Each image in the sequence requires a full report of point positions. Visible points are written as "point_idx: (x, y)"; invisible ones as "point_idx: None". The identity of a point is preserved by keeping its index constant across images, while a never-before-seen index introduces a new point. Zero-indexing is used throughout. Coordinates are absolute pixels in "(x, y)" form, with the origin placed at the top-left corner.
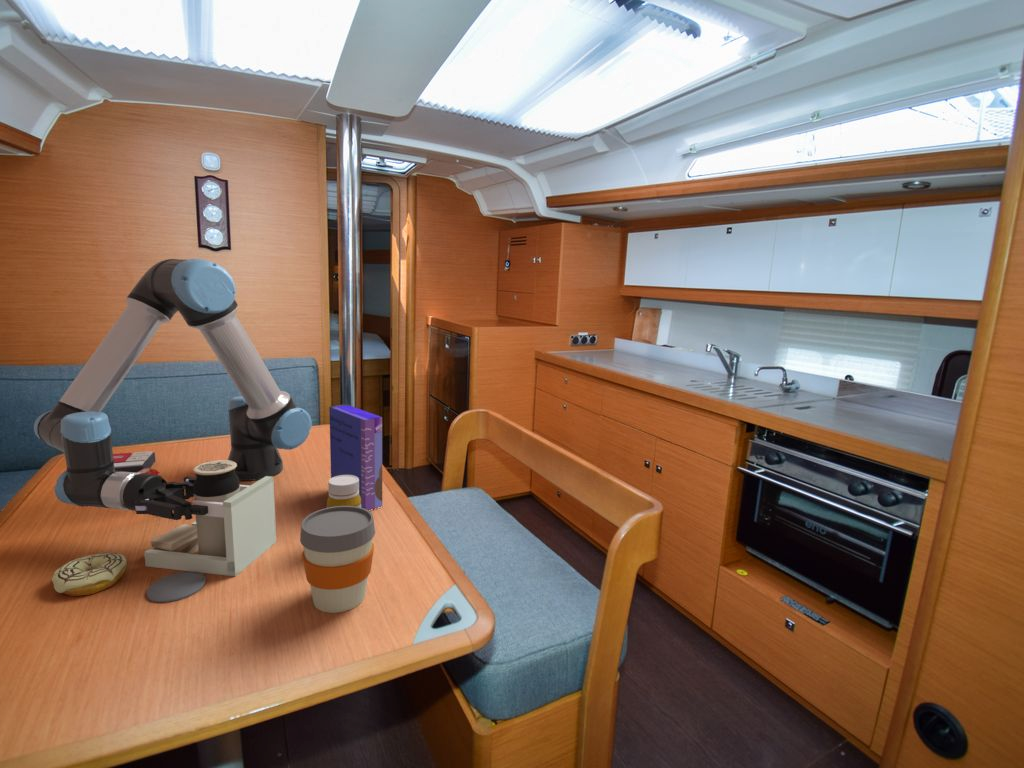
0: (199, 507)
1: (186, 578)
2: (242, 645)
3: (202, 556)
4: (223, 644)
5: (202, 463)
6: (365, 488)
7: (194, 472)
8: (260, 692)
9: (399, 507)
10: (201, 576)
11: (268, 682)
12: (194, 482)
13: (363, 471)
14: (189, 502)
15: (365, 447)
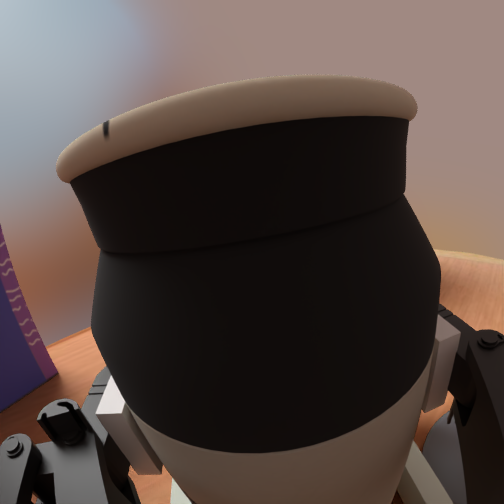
0: (438, 314)
1: (459, 462)
2: (448, 289)
3: (412, 461)
4: (464, 298)
5: (173, 96)
6: (36, 328)
7: (416, 110)
8: (454, 257)
9: (53, 347)
10: (430, 447)
11: (446, 259)
12: (420, 262)
13: (16, 298)
14: (475, 342)
15: (4, 240)
